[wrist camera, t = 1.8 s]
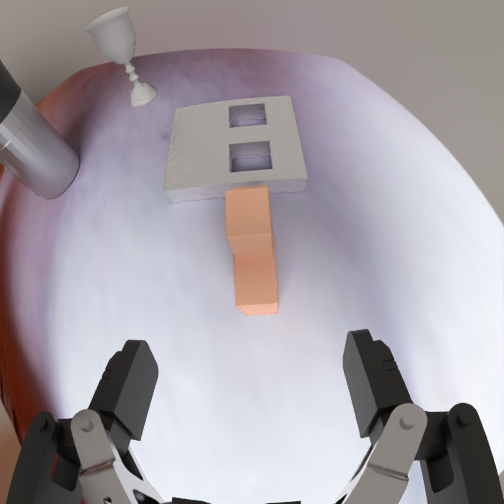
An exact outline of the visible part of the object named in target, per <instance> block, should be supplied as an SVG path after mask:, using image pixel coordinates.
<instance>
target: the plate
mask: <svg viewBox="0 0 504 504" xmlns="http://www.w3.org/2000/svg"><path fill="white" fill-rule="evenodd" d="M262 118H265V119H266V125H253V126H242V127H232V122H231V121H239V120H250V119H262ZM259 156H270V160H271V169H266V170H253V171H242V172H233V168H232V159H237V158H247V157H259ZM306 181H307V174H306V168H305V163H304V158H303V153H302V148H301V143H300V138H299V133H298V129H297V124H296V120H295V115H294V111H293V107H292V102H291V98H290V96H272V97H257V98H245V99H235V100H226V101H218V102H211V103H204V104H198V105H192V106H186V107H181V108H176V109H175V113H174V119H173V125H172V131H171V137H170V144H169V151H168V158H167V165H166V174H165V182H164V193H165V194H166V196H167V197H168V199H169V200H170V201H171V203H179V202H187V201H196V200H205V199H214V198H224V197H225V191H229V190H231V188H233V187H244V186H255V185H268V190H269V194H270V193H284V192H301V191H305V187H306Z"/></svg>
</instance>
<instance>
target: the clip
mask: <svg viewBox="0 0 504 504" xmlns="http://www.w3.org/2000/svg"><path fill="white" fill-rule="evenodd" d="M225 206H226V238H227V240H228V242H229V244H230V247H231V249H232V251H233V258H234V282H235V304H236V307H237V308H239V309H240V310H242V311H243V312H244V313H245V314H246V315H260V314H274V313H276V312H277V307H278V293H277V280H276V267H275V255H274V244H273V232H272V221H271V210H270V200H269V190H268V185H255V186H244V187H233V188H231V190H229V191H225Z"/></svg>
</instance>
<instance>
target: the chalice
mask: <svg viewBox="0 0 504 504" xmlns="http://www.w3.org/2000/svg"><path fill="white" fill-rule="evenodd" d="M129 9H130V7H123V8H119V9H116V10H114V11H111V12H108V13H106V14H104V15H103V16H101V17H99V18H97V19H96V20H94V21H93V22H91V23H90V24H89V25H87V26H86V28H85V31H86V32H88V33H90V35H91V37H92V39H93V40H94V42H95V44H96V46H97V48H98V50H99V51H100V52H101V53H102V54H104V55H105V56H106V57H107V58H109V59H111V60H112V61H114V62H115V63H117V64H124V65H125V66H126V73H128V74H129V75H130V79H129V80H130V81H132V82H133V83H134V88H133V89H132V91H131V105H132V106H142V105H144V104H147V103H148V102H150V101H151V100H152V99H154V97H155V96H156V94H157V91H156V90H155V89H154V88H153V87H152V86H150V85H149V84H147V83H140V82H139V80H138V77H139V75H137V74H136V73H135V71H134V69H135V67H133V66H132V65H131V64H130V60H131V59H132V58H133V56H134V50H135V42H136V41H135V40H136V38H135V35H136V33H135V30H134V27H133V25H132V22H131V20H130V17H129V15H128V14H129Z"/></svg>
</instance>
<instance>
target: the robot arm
mask: <svg viewBox="0 0 504 504" xmlns="http://www.w3.org/2000/svg"><path fill="white" fill-rule="evenodd" d="M0 163H2V164H3V165H4V166H5V169H6V171H8V172H9V173H10V174H11V175H13V176H14V177H15V178H16V179H18V180H19V181H20V182H21V183H23V184H24V185H25V186H26V187H28V188H29V189H30V190H32V191H33V192H34V193H36V194H37V195H38V196H39V195H41V196H42V197H44V198H46V199H53V198H55V197H57V196H59V195H60V194H61V193H63V192H64V191H65V190H66V189H67V188H68V186H69V185H70V184H71V182H72V181H73V179H74V178H75V176H76V174H77V171H78V168H79V157H78V155H77V154H76V153H75V152H74V151H73V150H72V148H71V147H70V146H69V145H68V144H67V143H66V142H65V140H64V139H63V138H62V137H61V136H60V135H59V134H58V133H57V131H56V130H55V129H54V128H53V127H52V126H51V125H50V123H49V122H48V121H47V120H46V119H45V118H44V116H43V115H42V114H41V113H40V112H39V110H38V109H37V108H36V107H35V106H34V104H33V103H32V102H31V101H30V100H29V99H28V97H27V96H26V95H25V93H24V92H23V91H22V90H21V88H20V87H19V86H18V85H17V83H16V82H15V81H14V79H13V78H12V76H11V75H10V73H9V72H8V70H7V69H6V68H5V66H4V65H3V63H2V62H1V60H0ZM343 369H344V373H345V377H346V381H347V385H348V388H349V392H350V396H351V400H352V404H353V408H354V412H355V416H356V420H357V424H358V428H359V432H360V437H361V438H364V437H370V441H371V445H370V446H369V448H368V450H367V452H366V454H365V456H364V457H363V459H362V461H361V463H360V464H359V466H358V468H357V469H356V471H355V473H354V474H353V476H352V478H351V479H350V481H349V482H348V484H347V485H346V487H345V488H344V489H343V491H342V492H341V493H340V495H339V496H338V497H337V499H336V500H335V502H334V503H333V504H398V503H399V501H400V499H401V497H402V495H403V493H404V491H405V489H406V487H407V485H408V481H409V478H408V472H409V470H410V467H411V465H412V463H413V461H414V460H420V465H421V470H422V475H423V480H424V485H425V491H426V496H427V503H428V504H504V499H503V494H502V490H501V485H500V481H499V477H498V473H497V469H496V465H495V462H494V458H493V455H492V452H491V449H490V446H489V443H488V440H487V437H486V434H485V431H484V428H483V426H482V423H481V420H480V418H479V415H478V413H477V411H476V409H475V408H474V407H473V406H472V405H470V404H467V403H459V404H456V405H455V406H453V407H452V408H451V409H450V411H448V412H428V411H424V410H423V409H422V408H421V407H420V406H418V405H415V404H414V403H413V401H412V400H411V397H410V395H409V392H408V390H407V388H406V385H405V383H404V380H403V378H402V376H401V373H400V371H399V369H398V366H397V364H396V362H395V361H394V357H393V355H392V353H391V351H390V348H389V347H388V346H386V345H385V344H384V343H383V342H382V341H381V340H377V341H373V339H372V336H371V334H370V332H369V330H368V329H363V330H356V331H349V332H348V335H347V340H346V345H345V349H344V354H343ZM157 379H158V365H157V363H156V360H155V358H154V356H153V354H152V352H151V350H150V348H149V346H148V344H147V342H146V341H145V340H127V341H126V343H125V345H124V347H123V349H122V351H117V352H116V353H115V354H114V355H113V357H112V358H111V359H110V360H109V362H108V364H107V366H106V369H105V371H104V373H103V375H102V379H101V380H100V382H99V384H98V386H97V389H96V391H95V393H94V396H93V398H92V400H91V403H90V405H89V407H88V409H85V410H81V411H79V412H78V413H77V414H75V416H74V417H73V418H69V419H56V418H55V417H54V416H53V415H52V414H51V413H49V412H46V411H43V412H40V413H38V414H36V415H35V416H34V418H33V419H32V421H31V424H30V427H29V429H28V432H27V434H26V437H25V440H24V443H23V445H22V448H21V451H20V454H19V457H18V461H17V464H16V467H15V470H14V474H13V477H12V481H11V485H10V489H9V493H8V497H7V502H6V504H80V501H81V496H82V490H83V492H84V495H85V497H86V500H87V502H88V504H210V503H207V502H204V501H198V500H189V499H182V498H176V497H172V502H165V503H164V501H163V499H162V498H161V496H160V495H159V494H158V492H157V491H156V490H155V489H154V488H153V487H152V486H151V484H150V483H149V482H148V480H147V478H146V477H145V475H144V473H143V471H142V469H141V467H140V465H139V463H138V461H137V459H136V457H135V455H134V453H133V451H132V449H131V447H130V446H129V444H130V440H131V439H132V440H138V441H140V440H141V436H142V432H143V428H144V425H145V421H146V417H147V414H148V410H149V406H150V403H151V399H152V396H153V392H154V389H155V385H156V382H157ZM55 454H58V459H57V462H56V466H55V470H54V473H53V477H52V480H51V478H50V472H51V468H52V464H53V461H54V457H55ZM267 504H301V501H294V502H281V503H267Z"/></svg>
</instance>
